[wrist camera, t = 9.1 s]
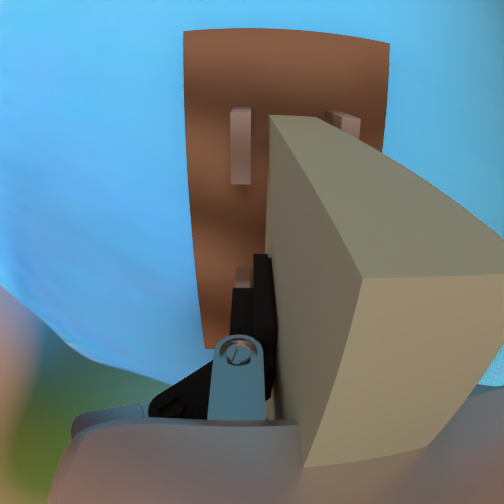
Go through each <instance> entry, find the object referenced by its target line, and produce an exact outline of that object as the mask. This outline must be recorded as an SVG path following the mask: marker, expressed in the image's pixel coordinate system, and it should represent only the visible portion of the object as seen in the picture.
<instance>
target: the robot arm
mask: <svg viewBox="0 0 504 504" xmlns="http://www.w3.org/2000/svg"><path fill="white" fill-rule="evenodd" d="M277 338H278V319H277V309H276V299H275V289H274V280H273V270H272V261H271V258H268V254H253V288H233V291H232V304H231V318H230V333H229V336H228V337H225V338H223V339H222V340H220V341H219V342H218V344H217V345H216V347H215V350H214V357H213V360H212V361H211V362H209V363H208V364H206V365H205V366H203V367H202V368H200V369H198V370H197V371H195V372H194V373H192V374H191V375H189V376H188V377H186V378H184V379H183V380H181V381H180V382H178V383H176V384H175V385H173V386H172V387H170V388H168V389H167V390H165V391H164V392H162V393H160V394H159V395H157V396H156V397H155V398H154V399H153V400H152V402H151V403H150V404H145V405H141V403H140V402H139V403H134V404H129V405H124V406H118V407H114V408H107V409H102V410H96V411H89V412H85V413H83V414H80V415H79V416H77V417H76V418H75V419H74V421H73V423H72V426H71V439H72V440H71V441H70V443H69V444H68V446H67V448H66V450H65V451H64V453H63V456H62V458H61V460H60V463H59V466H58V468H57V471H56V474H55V476H54V479H53V482H52V486H51V489H50V493H49V497H48V501H47V504H504V385H502V386H487V385H479V384H477V385H476V386H475V388H474V389H473V390H472V392H471V393H470V395H469V396H468V397H467V399H466V400H465V401H464V403H463V404H462V405H461V406H460V408H459V409H458V410H457V412H456V413H455V414H454V415H453V417H452V418H451V419H450V420H449V422H448V423H447V424H446V425H445V426H444V428H443V429H442V430H441V431H440V432H439V433H438V434H437V436H436V437H435V438H434V439H433V440H432V441H431V442H430V443H429V445H428V446H427V447H423V448H419V449H415V450H411V451H407V452H403V453H398V454H393V455H389V456H384V457H378V458H373V459H367V460H362V461H355V462H349V463H342V464H334V465H326V466H316V467H305V468H303V461H302V452H301V443H300V433H299V425H298V423H297V422H296V421H295V420H294V419H288V420H266V409H265V402H266V401H267V400H268V399H269V398H271V391H272V388H273V380H274V370H275V360H276V349H277Z"/></svg>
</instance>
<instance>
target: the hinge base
mask: <svg viewBox="0 0 504 504" xmlns="http://www.w3.org/2000/svg"><path fill="white" fill-rule="evenodd" d="M389 48H390V44H389V43H384V42H380V41H375V40H369V39H364V38H358V37H352V36H345V35H338V34H331V33H322V32H313V31H302V30H287V29H263V28H232V29H208V30H193V31H183V58H184V107H185V133H186V154H187V171H188V187H189V201H190V214H191V226H192V237H193V248H194V259H195V268H196V278H197V287H198V296H199V305H200V313H201V321H202V329H203V337H204V344H205V348H206V349H215V347H216V345H217V344H218V342H219V341H220V340H222V339H223V338H225V337H228V336H229V333H230V318H231V304H232V291H233V288H253V254H265V234H266V201H267V163H268V118H269V115H290V116H309V117H317V118H319V119H321V120H323V121H325V122H327V123H329V124H331V125H333V126H334V127H336V128H338V129H340V130H342V131H344V132H346V133H348V134H350V135H351V136H353V137H355V138H357V139H359V140H360V141H362V142H364V143H366V144H368V145H369V146H371V147H373V148H374V149H376V150H378V151H380V152H381V153H382V147H383V138H384V129H385V118H386V106H387V93H388V76H389Z"/></svg>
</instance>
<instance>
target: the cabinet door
mask: <svg viewBox="0 0 504 504" xmlns="http://www.w3.org/2000/svg"><path fill="white" fill-rule="evenodd" d="M265 254H268V258H271V261H272V270H273V280H274V289H275V299H276V309H277V319H278V338H277V349H276V360H275V370H274V380H273V388H272V391H271V398H269V399H268V400H267V401H266V402H265V409H266V420H288V419H294V420H295V421H296V422H297V423H298V425H299V433H300V443H301V452H302V461H303V468H305V467H316V466H326V465H334V464H342V463H349V462H355V461H362V460H367V459H373V458H378V457H384V456H389V455H393V454H398V453H403V452H407V451H411V450H415V449H419V448H423V447H427V446H428V445H429V443H430V442H431V441H432V440H433V439H434V438H435V437H436V436H437V434H438V433H439V432H440V431H441V430H442V429H443V428H444V426H445V425H446V424H447V423H448V422H449V420H450V419H451V418H452V417H453V415H454V414H455V413H456V412H457V410H458V409H459V408H460V406H461V405H462V404H463V403H464V401H465V400H466V399H467V397H468V396H469V395H470V393H471V392H472V390H473V389H474V388H475V386H476V385H477V383H478V382H479V380H480V379H481V378H482V376H483V375H484V373H485V372H486V370H487V369H488V367H489V365H490V364H491V362H492V361H493V359H494V358H495V356H496V354H497V353H498V351H499V349H500V348H501V346H502V344H503V343H504V240H503V239H502V238H501V237H500V236H499V235H498V234H496V233H495V232H494V231H493V230H492V229H490V228H489V227H488V226H487V225H485V224H484V223H483V222H482V221H480V220H479V219H478V218H477V217H475V216H474V215H473V214H471V213H470V212H469V211H468V210H466V209H465V208H464V207H462V206H461V205H460V204H458V203H457V202H456V201H454V200H453V199H451V198H450V197H449V196H447V195H446V194H444V193H443V192H442V191H440V190H439V189H437V188H436V187H434V186H433V185H432V184H430V183H429V182H427V181H426V180H424V179H423V178H421V177H420V176H418V175H417V174H415V173H414V172H412V171H410V170H409V169H407V168H406V167H404V166H403V165H401V164H399V163H398V162H396V161H395V160H393V159H391V158H390V157H388V156H386V155H385V154H383V153H381V152H380V151H378V150H376V149H374V148H373V147H371V146H369V145H368V144H366V143H364V142H362V141H360V140H359V139H357V138H355V137H353V136H351V135H350V134H348V133H346V132H344V131H342V130H340V129H338V128H336V127H334V126H333V125H331V124H329V123H327V122H325V121H323V120H321V119H319V118H317V117H309V116H290V115H269V118H268V163H267V201H266V234H265Z"/></svg>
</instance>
